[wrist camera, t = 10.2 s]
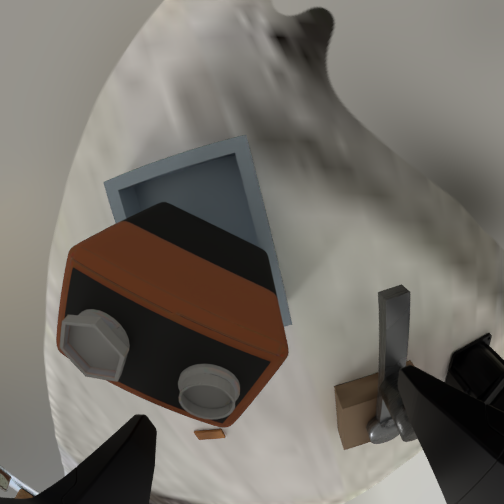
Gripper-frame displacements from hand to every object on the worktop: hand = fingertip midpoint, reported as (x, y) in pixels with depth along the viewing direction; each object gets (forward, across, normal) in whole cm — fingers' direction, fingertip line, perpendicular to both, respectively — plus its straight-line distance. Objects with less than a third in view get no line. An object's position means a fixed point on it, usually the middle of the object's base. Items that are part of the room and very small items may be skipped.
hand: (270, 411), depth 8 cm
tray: (+12, +3, -3) cm, 13 cm away
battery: (+9, +3, -3) cm, 10 cm away
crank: (+9, -8, +10) cm, 16 cm away
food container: (+11, +133, +71) cm, 151 cm away
